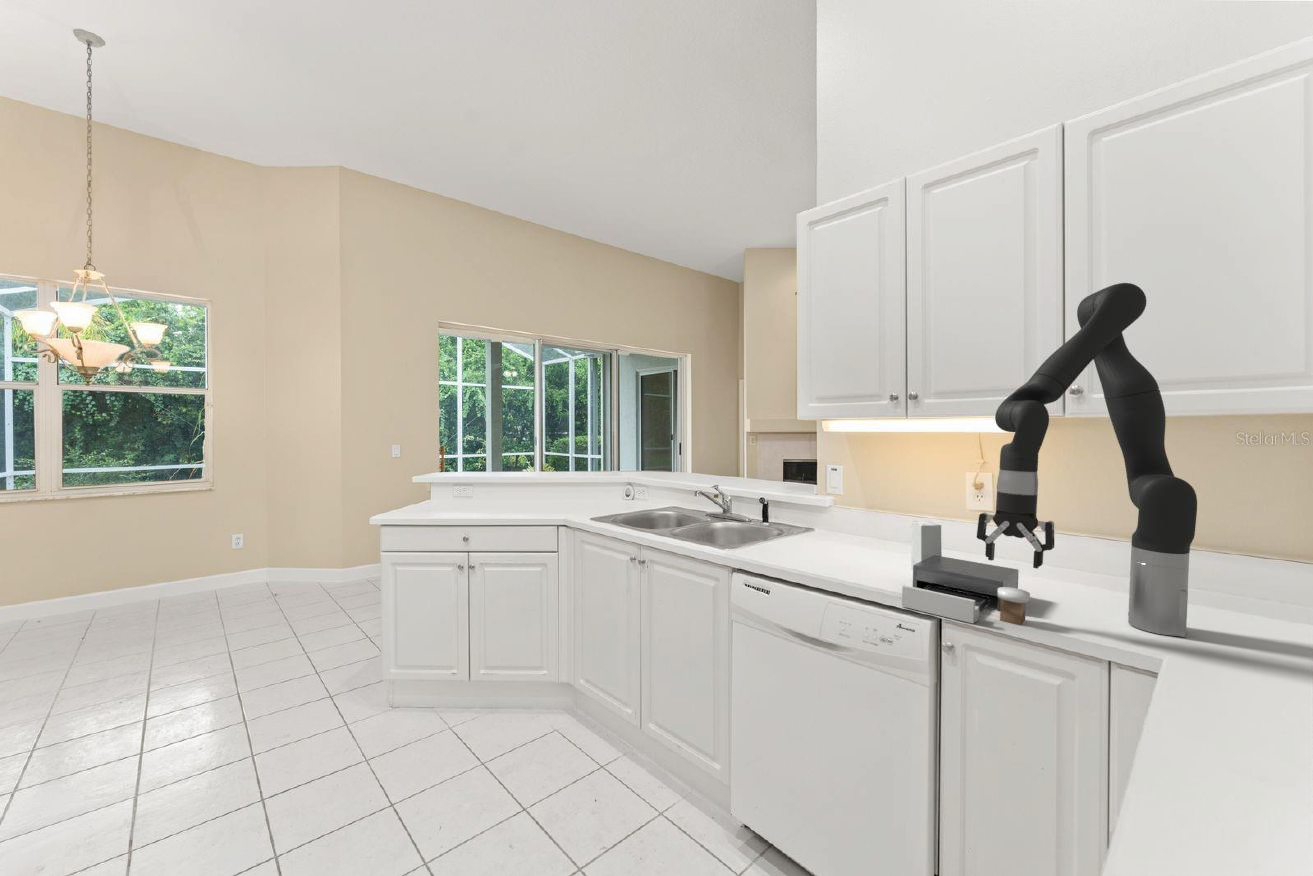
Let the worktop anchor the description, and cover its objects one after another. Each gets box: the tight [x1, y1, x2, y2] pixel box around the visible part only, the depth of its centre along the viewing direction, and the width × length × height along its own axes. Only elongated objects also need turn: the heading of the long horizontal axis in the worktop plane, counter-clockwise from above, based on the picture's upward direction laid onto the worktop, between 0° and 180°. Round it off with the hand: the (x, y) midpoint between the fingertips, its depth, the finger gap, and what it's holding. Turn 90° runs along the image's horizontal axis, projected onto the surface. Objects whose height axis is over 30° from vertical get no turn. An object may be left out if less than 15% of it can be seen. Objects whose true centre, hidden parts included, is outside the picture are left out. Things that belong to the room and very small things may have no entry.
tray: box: [901, 584, 990, 624], centre depth 130 cm, size 15×18×5 cm
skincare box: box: [910, 520, 943, 571], centre depth 159 cm, size 8×6×15 cm
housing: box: [912, 555, 1020, 612], centre depth 139 cm, size 20×16×7 cm
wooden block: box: [999, 599, 1027, 626], centre depth 121 cm, size 4×4×5 cm
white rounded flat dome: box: [996, 587, 1031, 604], centre depth 121 cm, size 6×6×2 cm
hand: (1012, 563), depth 121 cm, fingers open, 8 cm apart
